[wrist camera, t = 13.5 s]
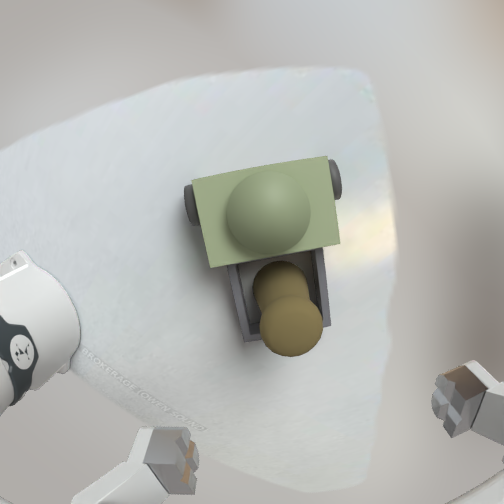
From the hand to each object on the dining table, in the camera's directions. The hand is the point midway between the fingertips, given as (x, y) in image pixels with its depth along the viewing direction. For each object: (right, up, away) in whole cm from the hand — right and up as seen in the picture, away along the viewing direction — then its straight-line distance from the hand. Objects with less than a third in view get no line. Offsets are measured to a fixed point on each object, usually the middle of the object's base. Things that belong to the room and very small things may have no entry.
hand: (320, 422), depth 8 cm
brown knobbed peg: (+1, +1, +25) cm, 25 cm away
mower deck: (0, +5, +24) cm, 25 cm away
